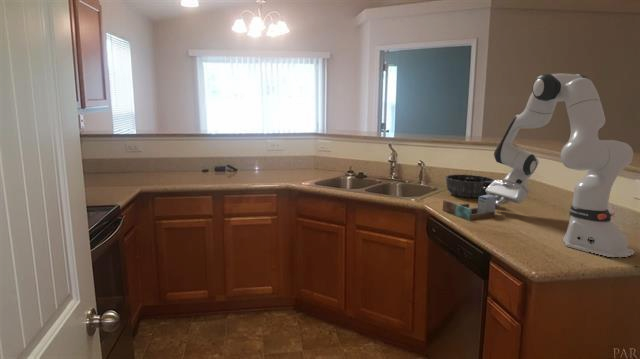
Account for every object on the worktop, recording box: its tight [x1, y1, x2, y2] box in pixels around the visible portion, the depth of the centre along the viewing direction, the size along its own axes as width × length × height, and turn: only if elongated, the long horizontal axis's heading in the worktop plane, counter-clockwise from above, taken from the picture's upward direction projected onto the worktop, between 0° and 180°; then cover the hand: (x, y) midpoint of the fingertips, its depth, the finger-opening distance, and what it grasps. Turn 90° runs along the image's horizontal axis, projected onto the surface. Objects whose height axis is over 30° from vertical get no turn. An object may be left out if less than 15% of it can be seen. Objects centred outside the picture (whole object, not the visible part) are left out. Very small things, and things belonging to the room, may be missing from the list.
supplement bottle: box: [481, 181, 492, 196], centre depth 218 cm, size 7×7×12 cm
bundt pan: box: [445, 174, 496, 198], centre depth 241 cm, size 26×26×10 cm
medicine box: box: [476, 195, 496, 214], centre depth 200 cm, size 8×4×9 cm, turn 125°
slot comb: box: [442, 199, 496, 221], centre depth 200 cm, size 18×15×5 cm
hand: (495, 204), depth 201 cm, fingers closed
